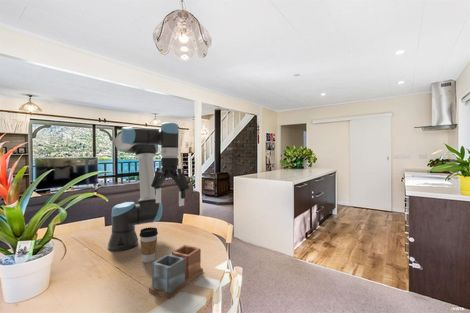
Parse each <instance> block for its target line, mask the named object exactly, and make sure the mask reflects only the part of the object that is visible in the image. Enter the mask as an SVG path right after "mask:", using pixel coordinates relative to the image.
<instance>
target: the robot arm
mask: <svg viewBox="0 0 470 313" xmlns="http://www.w3.org/2000/svg"><path fill="white" fill-rule="evenodd" d="M160 127H161V128H160V129H159V128H145V127H132V126H124V127H123V126H122V127H121V130H120V134H119V135H117V136H116V137H115V138H114V141H113V142H114V144H113V145H114V147H115V148H116V149H117V150H118V151H120V152H123V153H126V154H135V158H137V160H138V174H139V175H138V176H139V179H138V180H139V193H140V195H139V196H140V197H139V199H138V200H137V203H135V202H134V201H125V202H122V203H118V204H116V205H114V206H113V207H112V209H111V235H110V237H109V240H108V243H107V249H108V250H110V251H114V252H115V251H116V252H118V251H119V252H120V251H126V250H129V249H133V248H135V247H137V245H139V238H138V236H137V233H136V229H135V228H136V226H137V225H144V224H151V223H155V222H156V223H157V222H158V221H160V220H161V218H162V216H163V203H162V188H161V186H162V185H163V183H165V181H166V179H167V178H168V179H172V181H174V183H175V184H176V186H177V187H178V189H179V191H178V207H182V206H185V199H186V191H187V190H189V189H190V185H189V183H188V181H187V178H186V176H185V173H184V172H185V171H184V168H183V167H181V168H178V166H179V158H178V157H179V137H180V136H179V132H180V129H179V124H178V123H176V122H163V123H161V126H160ZM159 146H160V151H161V153H160V156H161V158H160V165H161V167H156V171H155V166H154V157H156V154H157V153H158V152H159Z"/></svg>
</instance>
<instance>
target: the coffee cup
mask: <svg viewBox="0 0 470 313" xmlns="http://www.w3.org/2000/svg"><path fill="white" fill-rule="evenodd" d="M139 231H140V232H139V237H140V240H139V243H140V251H141V261H142V262H143V263H153V262H155V261H156V252H157V242H158V235H159V232H158V228H157V227H153V226H152V227H150V226H149V227H145V228H142V229H140V230H139Z"/></svg>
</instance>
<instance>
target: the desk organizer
mask: <svg viewBox="0 0 470 313" xmlns="http://www.w3.org/2000/svg"><path fill="white" fill-rule="evenodd" d="M201 250H202V249H201V248H200V247H196V246H191V245H188V244H187V245H186V244H184V245H181V246H180V247H179V248H176V249H175V250H173V251H171V254H169V253H167V254H166V255H164V256H162V257H160V258H158V259H155V260H154V261H152V262H151V264H152V267H151V271H152V272H151V283H152V284H151V286H149V287H148V293H152V294H154V295H157V296H159V297H162V298H165V299H167V300H171V298H173V297H174V296H175V295H176V294H178V293H179V292H181V290H183V289H184V288H186V287H187V286H188V285H189V284H190V283H191V282H193V281H194V280H195V279H196V278H197V277H199V276H200V275H201V274H202V273H203V272H204V268H202V267H201V264H202V263H201V262H202V260H201Z"/></svg>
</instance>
